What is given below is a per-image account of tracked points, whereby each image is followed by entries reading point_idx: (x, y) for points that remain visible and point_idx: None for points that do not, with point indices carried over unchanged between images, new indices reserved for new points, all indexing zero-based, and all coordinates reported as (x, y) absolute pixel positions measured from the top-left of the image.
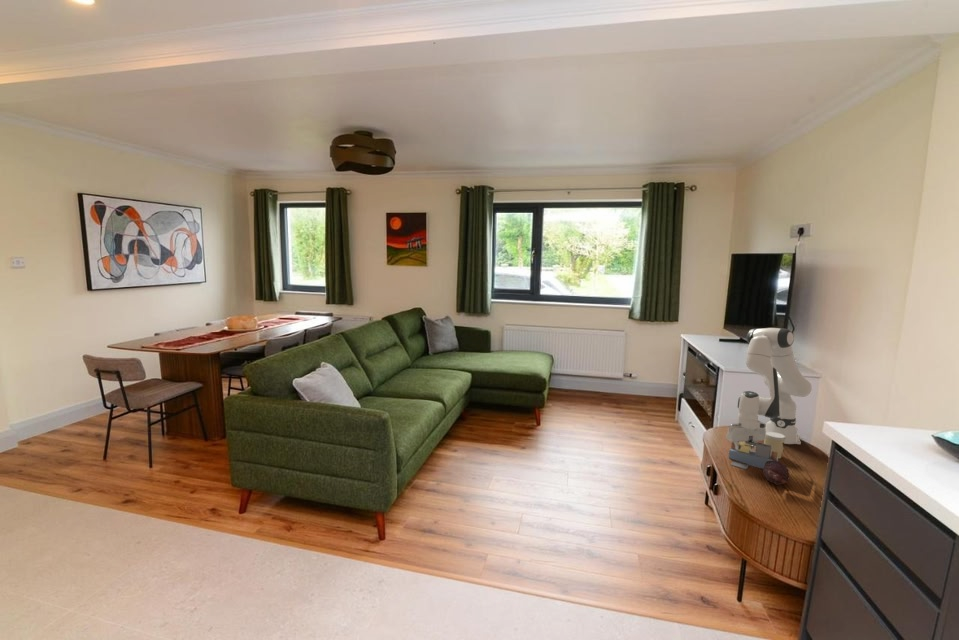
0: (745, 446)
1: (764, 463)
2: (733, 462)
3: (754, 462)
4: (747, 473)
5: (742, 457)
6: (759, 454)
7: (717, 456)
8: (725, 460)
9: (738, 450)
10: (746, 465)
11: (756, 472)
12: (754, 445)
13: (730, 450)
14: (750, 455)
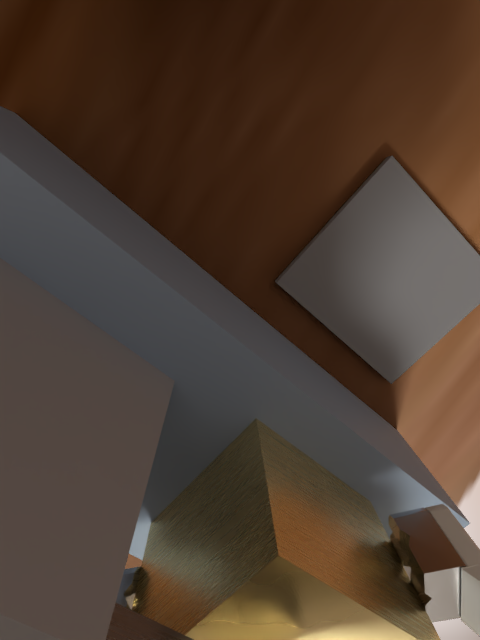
0: (340, 573)
1: (97, 203)
2: (422, 341)
3: (213, 289)
4: (452, 33)
5: (329, 390)
6: (102, 357)
7: (469, 472)
8: (455, 395)
9: (370, 509)
10: (316, 272)
11: (294, 82)
12: (128, 615)
13: (458, 513)
14: (260, 371)
